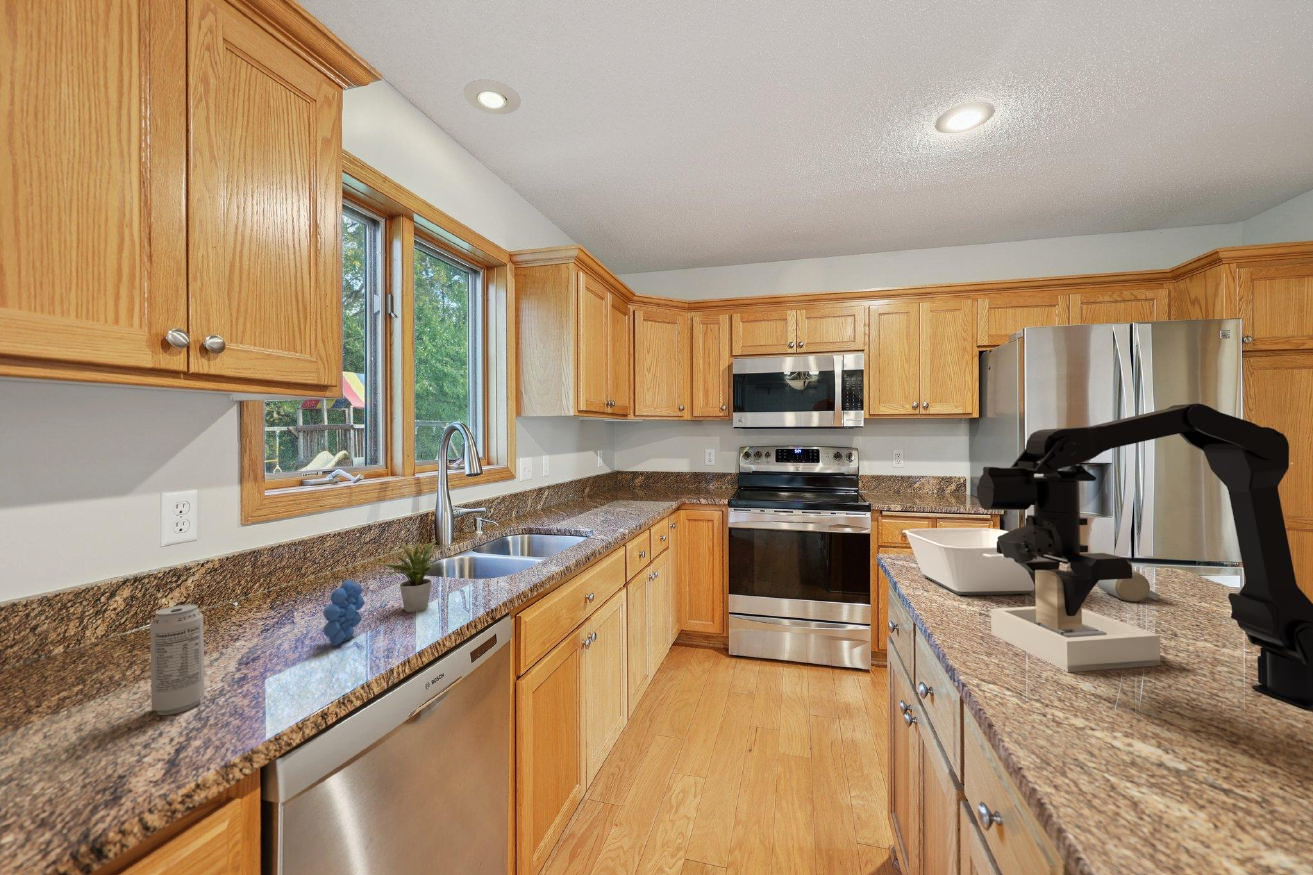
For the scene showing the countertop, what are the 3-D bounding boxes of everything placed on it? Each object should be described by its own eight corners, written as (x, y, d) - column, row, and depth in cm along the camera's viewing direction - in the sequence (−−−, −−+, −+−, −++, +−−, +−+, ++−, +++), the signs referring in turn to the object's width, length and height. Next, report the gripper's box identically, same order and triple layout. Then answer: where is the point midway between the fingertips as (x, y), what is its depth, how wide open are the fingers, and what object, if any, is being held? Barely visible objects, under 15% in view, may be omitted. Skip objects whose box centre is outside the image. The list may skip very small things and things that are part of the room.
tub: (1077, 605, 120) (1076, 549, 120) (958, 608, 120) (957, 551, 120) (985, 569, 154) (984, 525, 154) (893, 571, 154) (892, 526, 154)
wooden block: (1082, 628, 80) (1080, 575, 80) (1057, 629, 80) (1056, 576, 80) (1059, 619, 84) (1058, 569, 84) (1036, 621, 84) (1034, 570, 84)
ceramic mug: (1116, 602, 121) (1116, 569, 121) (1094, 592, 130) (1094, 560, 130) (1170, 605, 120) (1170, 571, 120) (1143, 594, 128) (1143, 562, 128)
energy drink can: (207, 693, 86) (205, 600, 86) (201, 708, 81) (199, 610, 81) (156, 704, 82) (155, 607, 82) (147, 721, 77) (145, 618, 77)
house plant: (408, 597, 137) (407, 534, 137) (458, 598, 135) (457, 534, 136) (371, 615, 123) (370, 545, 123) (427, 617, 121) (425, 545, 121)
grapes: (341, 630, 113) (340, 574, 114) (372, 630, 113) (371, 574, 113) (304, 652, 102) (303, 590, 102) (339, 652, 102) (338, 589, 102)
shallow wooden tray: (1160, 665, 89) (1159, 635, 89) (1067, 672, 87) (1066, 641, 87) (1070, 629, 106) (1070, 604, 106) (991, 634, 104) (990, 608, 104)
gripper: (966, 504, 90) (968, 596, 90) (1060, 521, 72) (1063, 636, 72) (1026, 502, 92) (1028, 593, 92) (1134, 518, 73) (1137, 631, 73)
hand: (1058, 611), depth 82 cm, fingers closed on wooden block, 4 cm apart
